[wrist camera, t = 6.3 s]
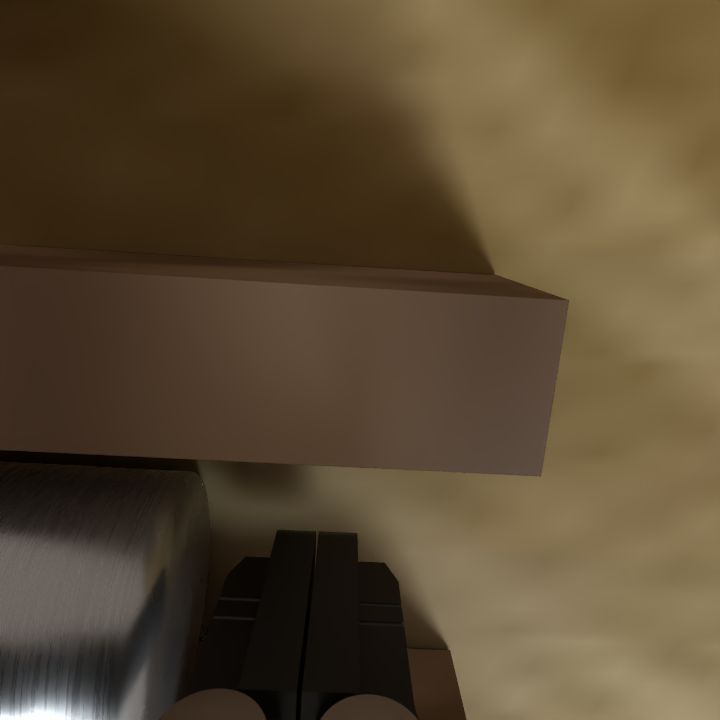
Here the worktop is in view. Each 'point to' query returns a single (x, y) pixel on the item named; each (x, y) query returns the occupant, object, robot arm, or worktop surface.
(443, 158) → the worktop surface
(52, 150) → the worktop surface
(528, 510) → the worktop surface
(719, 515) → the worktop surface
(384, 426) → the slotted block
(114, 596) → the grey metal cylinder
